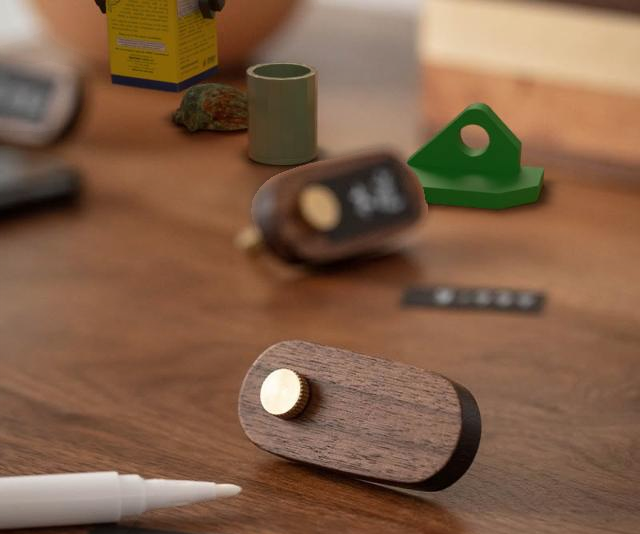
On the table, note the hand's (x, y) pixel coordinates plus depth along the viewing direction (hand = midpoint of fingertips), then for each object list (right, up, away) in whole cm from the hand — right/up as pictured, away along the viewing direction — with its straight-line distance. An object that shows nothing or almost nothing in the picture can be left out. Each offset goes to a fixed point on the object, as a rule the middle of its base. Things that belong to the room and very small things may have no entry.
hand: (154, 10), depth 93 cm
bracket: (+25, -11, +21) cm, 34 cm away
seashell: (+1, -2, +40) cm, 40 cm away
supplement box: (0, -4, +4) cm, 6 cm away
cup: (+8, -7, +30) cm, 32 cm away
